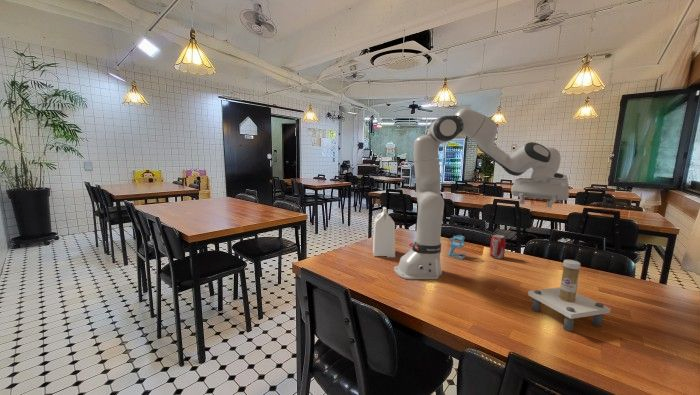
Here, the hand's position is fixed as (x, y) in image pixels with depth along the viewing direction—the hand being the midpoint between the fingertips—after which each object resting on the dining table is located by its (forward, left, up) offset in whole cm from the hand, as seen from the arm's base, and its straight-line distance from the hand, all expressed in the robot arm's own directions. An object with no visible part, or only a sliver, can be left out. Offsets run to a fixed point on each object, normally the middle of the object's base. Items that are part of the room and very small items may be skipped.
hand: (534, 204), depth 118 cm
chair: (-6, +40, -36) cm, 54 cm away
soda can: (+15, +34, -36) cm, 52 cm away
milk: (-44, +53, -36) cm, 78 cm away
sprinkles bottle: (-6, -23, -29) cm, 37 cm away
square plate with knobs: (-6, -23, -35) cm, 42 cm away
